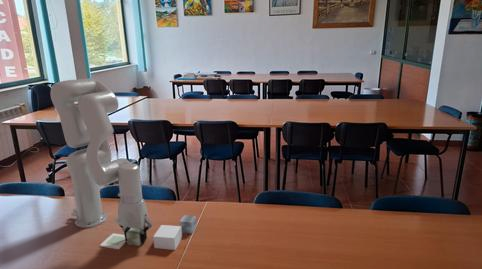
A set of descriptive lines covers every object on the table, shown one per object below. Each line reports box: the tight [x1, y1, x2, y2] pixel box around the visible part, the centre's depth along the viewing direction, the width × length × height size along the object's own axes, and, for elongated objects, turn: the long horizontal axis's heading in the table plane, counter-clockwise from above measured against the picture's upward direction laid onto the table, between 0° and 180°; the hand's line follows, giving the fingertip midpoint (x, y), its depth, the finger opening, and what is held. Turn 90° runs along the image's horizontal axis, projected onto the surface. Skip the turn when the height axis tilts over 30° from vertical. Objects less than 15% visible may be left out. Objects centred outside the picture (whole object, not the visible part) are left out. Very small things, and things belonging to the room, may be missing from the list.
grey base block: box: [152, 224, 183, 251], centre depth 124 cm, size 8×8×5 cm
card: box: [99, 233, 127, 250], centre depth 125 cm, size 8×8×1 cm
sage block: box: [126, 227, 144, 247], centre depth 125 cm, size 5×5×5 cm
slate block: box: [179, 214, 198, 235], centre depth 132 cm, size 5×5×5 cm
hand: (136, 239), depth 125 cm, fingers open, 5 cm apart
